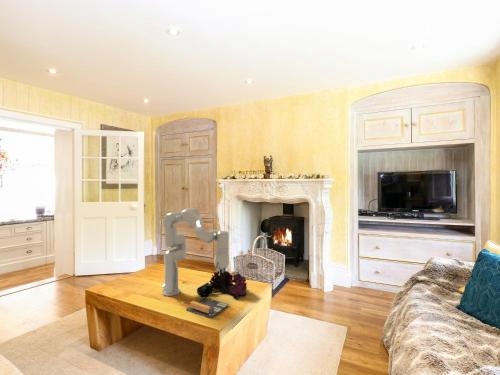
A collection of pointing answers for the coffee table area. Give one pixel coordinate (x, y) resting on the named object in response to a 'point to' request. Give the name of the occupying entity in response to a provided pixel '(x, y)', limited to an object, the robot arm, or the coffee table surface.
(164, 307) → the coffee table surface
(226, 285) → the flower arrangement
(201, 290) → the dark grey toy house
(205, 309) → the bar
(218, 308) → the tray
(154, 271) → the coffee table surface
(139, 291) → the coffee table surface
